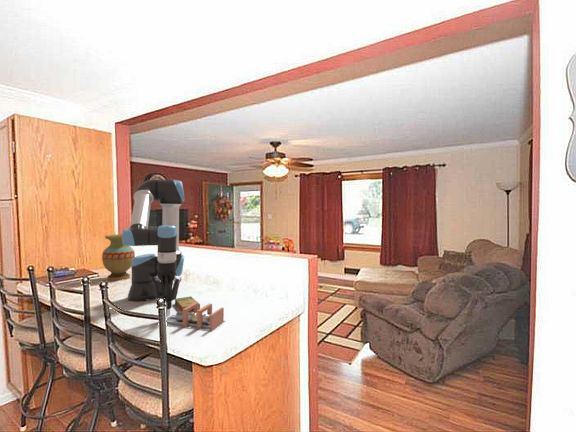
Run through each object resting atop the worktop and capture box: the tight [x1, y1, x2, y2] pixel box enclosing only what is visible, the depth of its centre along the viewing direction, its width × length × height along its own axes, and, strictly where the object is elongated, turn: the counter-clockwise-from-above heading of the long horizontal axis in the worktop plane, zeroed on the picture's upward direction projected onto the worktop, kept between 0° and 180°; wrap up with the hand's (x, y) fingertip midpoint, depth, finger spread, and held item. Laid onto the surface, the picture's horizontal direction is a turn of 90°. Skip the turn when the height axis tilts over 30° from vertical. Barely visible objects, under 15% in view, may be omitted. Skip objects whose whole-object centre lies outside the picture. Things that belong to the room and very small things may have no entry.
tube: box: [175, 310, 210, 325], centre depth 126 cm, size 16×4×4 cm, turn 75°
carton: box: [174, 295, 201, 313], centre depth 147 cm, size 8×16×4 cm, turn 32°
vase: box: [101, 233, 136, 281], centre depth 209 cm, size 20×20×30 cm
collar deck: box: [154, 301, 226, 333], centre depth 127 cm, size 26×12×8 cm, turn 75°
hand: (166, 316), depth 130 cm, fingers closed
